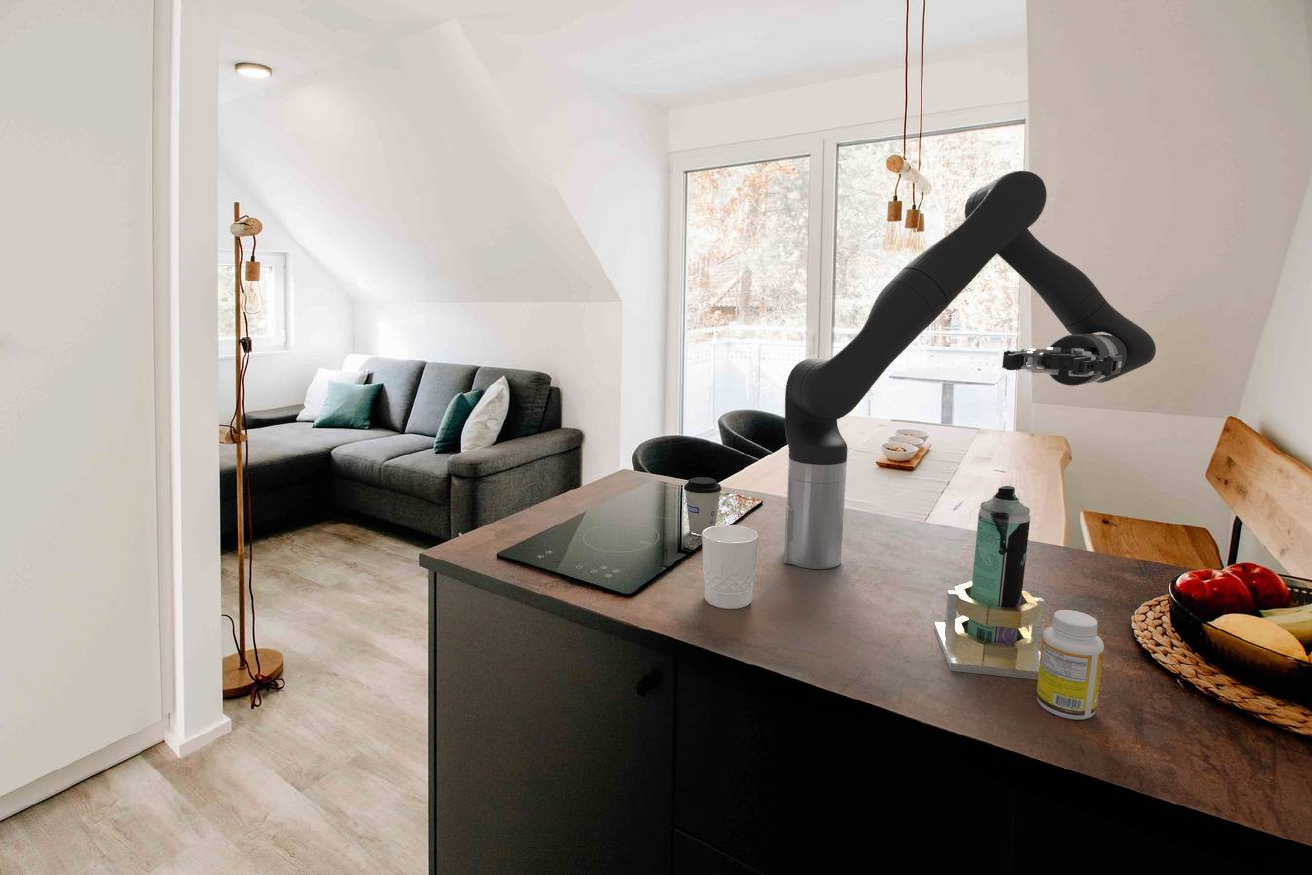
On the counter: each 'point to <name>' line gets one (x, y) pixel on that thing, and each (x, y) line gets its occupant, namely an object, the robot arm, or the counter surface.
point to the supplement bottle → (1070, 666)
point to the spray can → (999, 560)
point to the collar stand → (991, 656)
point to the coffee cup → (702, 503)
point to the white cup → (729, 565)
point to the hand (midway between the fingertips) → (1041, 364)
